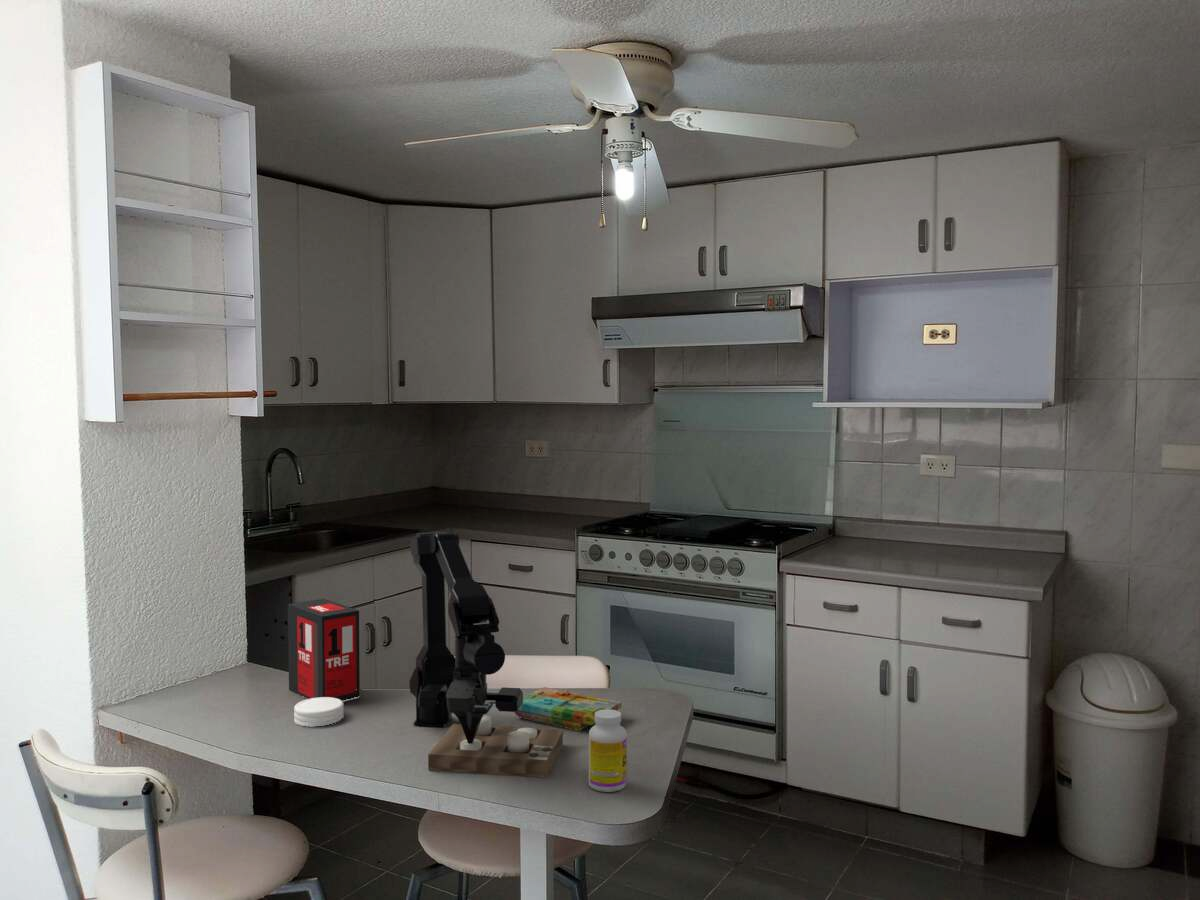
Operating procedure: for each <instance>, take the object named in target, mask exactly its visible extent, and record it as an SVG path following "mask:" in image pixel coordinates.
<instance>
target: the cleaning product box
mask: <svg viewBox="0 0 1200 900" xmlns="http://www.w3.org/2000/svg"><path fill="white" fill-rule="evenodd" d="M287 631H288V632H287V636H288V637H287V639H288V640H287V643H288V648H287V649H288V690H289V691H290V692H291V693H295V694H296V695H298V694H299V695H298V696H300V695H301V696H300V697H302V696H304V697H306V698H308V699H311V698H319V697H331V698H337V699H340V700H341V701H342V700H346V699H351V698H354V697H358V696H360V697H361V695H360V694H361V690H360V687H361V686H360V684H361V683H360V680H361V679H360V676H361V675H360V674H361V673H360V611H359V609H356V608H353V607H350V606H348V605H344V604H340V603H338V602H336V601H331V600H330V599H329V600H328V599H326V598H320V599H313V600H307V601H306V600H305V601H299V602H293V603H288V604H287ZM356 689H357V690H356ZM304 697H303V698H304ZM306 698H305V699H306Z"/></svg>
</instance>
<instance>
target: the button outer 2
mask: <svg viewBox="0 0 1200 900" xmlns="http://www.w3.org/2000/svg"><path fill="white" fill-rule="evenodd" d="M507 750H508V751H509V752H512V753H524V752H527V751H528V750H529V733H528V732H525V731H513V732H510V733H508V739H507Z"/></svg>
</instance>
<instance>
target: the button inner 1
mask: <svg viewBox="0 0 1200 900" xmlns="http://www.w3.org/2000/svg"><path fill="white" fill-rule="evenodd" d="M492 719H493V718H492V717H491V716H490V715H487V714H484V715H483V717H482V719H481V722H480V725H479V728H478V730H477V733H476V736H486V735H489V734H491V732H492V726H493V725H492V724H493V722H492V721H493V720H492Z"/></svg>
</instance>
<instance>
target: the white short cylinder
mask: <svg viewBox="0 0 1200 900" xmlns="http://www.w3.org/2000/svg"><path fill="white" fill-rule="evenodd" d="M344 706H345V705H344V702H342V701H341V700H340V699H337V698H331V697H319V698H311V699H304V700H301V701H298V702H297V703H296V704H295V706H294V708H293V711H294V713H293V715H294V719H293V720H294V723H295V724H296V725H297V726H299V725H300V727H303V726H306V727H305V728H316V727H315V726H323V727H325V726H324V725H329V724H332V725H334V724H333V723H335V724H337V723H336V722H338V721H340V720H341V719H342V718H343V719H344V717H345V714H344V710H345V709H344ZM343 719H342V720H343ZM342 720H341V721H342ZM341 721H340V722H341ZM338 723H339V722H338ZM308 726H309V727H308ZM313 726H314V727H313ZM329 726H330V725H329Z"/></svg>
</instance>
